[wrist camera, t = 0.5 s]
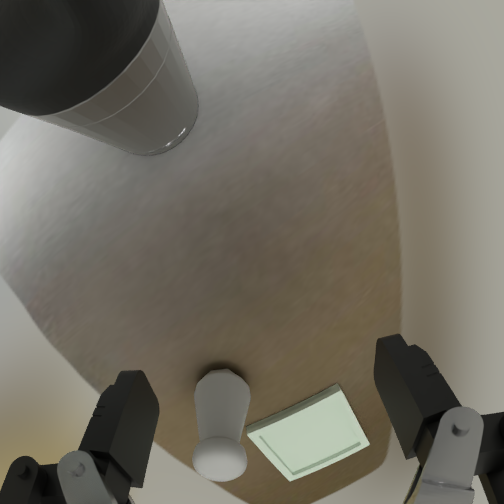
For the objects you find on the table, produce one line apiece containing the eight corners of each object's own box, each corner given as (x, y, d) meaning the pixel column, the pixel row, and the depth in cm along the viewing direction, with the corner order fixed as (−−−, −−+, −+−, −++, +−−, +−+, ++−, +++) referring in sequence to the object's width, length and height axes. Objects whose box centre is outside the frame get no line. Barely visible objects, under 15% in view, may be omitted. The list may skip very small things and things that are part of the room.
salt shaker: (251, 363, 32) (262, 449, 19) (247, 404, 33) (255, 491, 20) (196, 359, 32) (180, 444, 19) (196, 401, 33) (183, 487, 20)
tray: (246, 426, 34) (246, 434, 32) (337, 382, 33) (341, 389, 32) (288, 474, 36) (289, 481, 34) (366, 437, 35) (369, 444, 34)
